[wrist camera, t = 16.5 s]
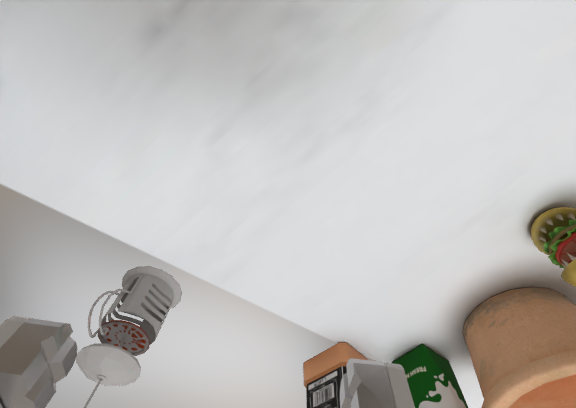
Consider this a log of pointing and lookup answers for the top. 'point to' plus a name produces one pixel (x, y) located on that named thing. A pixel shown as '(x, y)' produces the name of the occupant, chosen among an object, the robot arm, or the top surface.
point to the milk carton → (431, 379)
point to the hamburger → (558, 239)
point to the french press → (129, 327)
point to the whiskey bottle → (327, 375)
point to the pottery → (524, 349)
